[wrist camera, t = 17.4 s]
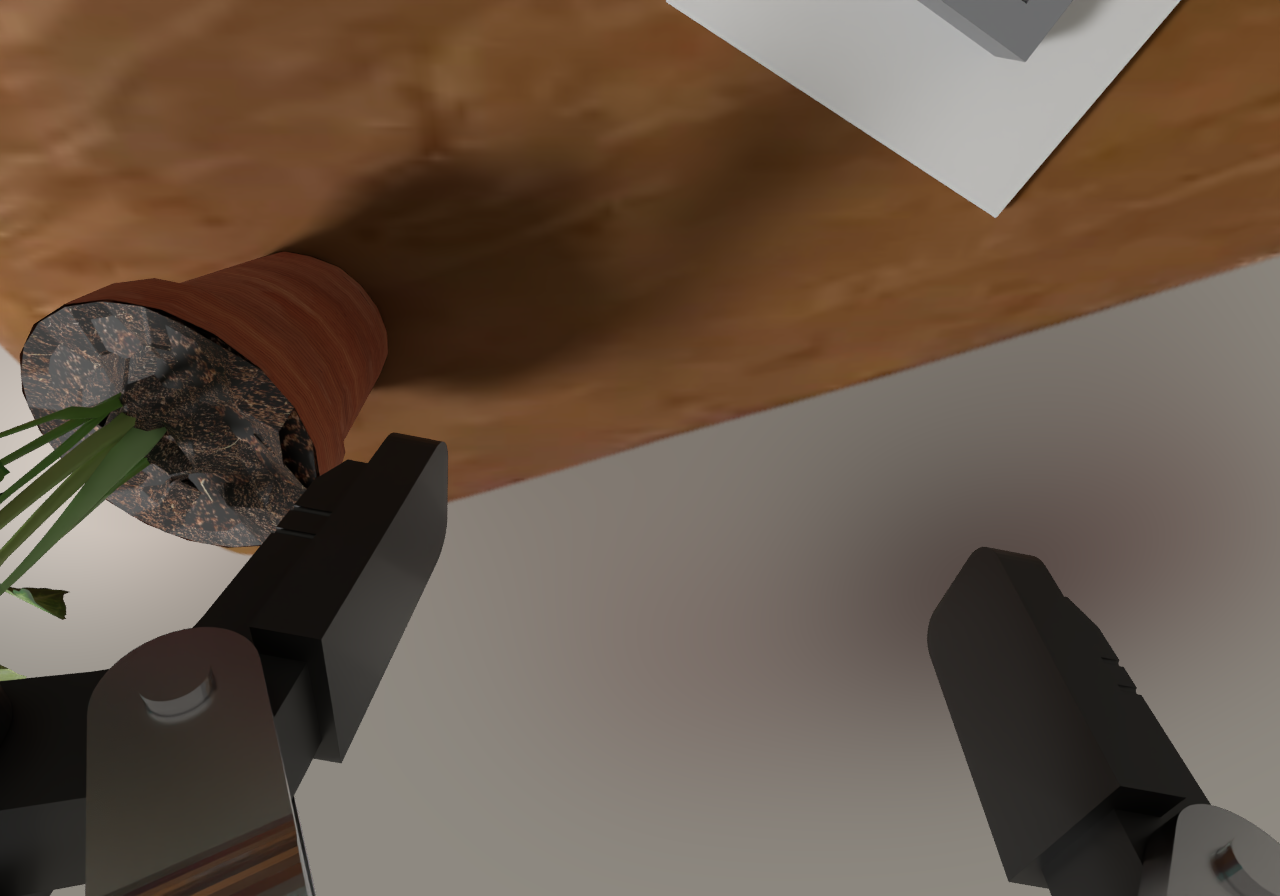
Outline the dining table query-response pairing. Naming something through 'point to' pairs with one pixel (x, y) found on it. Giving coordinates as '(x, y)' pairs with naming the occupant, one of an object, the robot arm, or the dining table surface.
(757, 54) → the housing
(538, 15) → the dining table surface
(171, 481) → the potted plant
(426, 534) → the robot arm
